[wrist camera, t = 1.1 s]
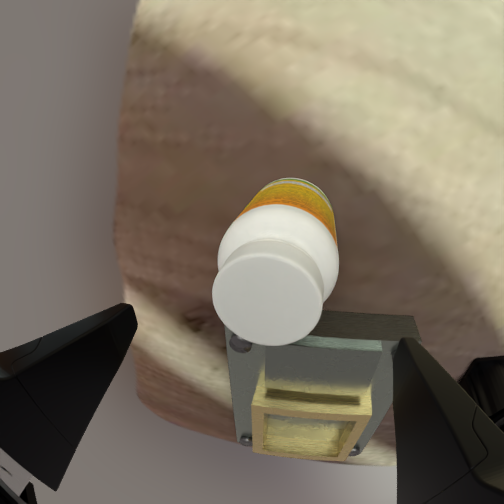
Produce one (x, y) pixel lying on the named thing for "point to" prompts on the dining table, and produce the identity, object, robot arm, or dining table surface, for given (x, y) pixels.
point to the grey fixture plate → (316, 386)
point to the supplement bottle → (277, 264)
